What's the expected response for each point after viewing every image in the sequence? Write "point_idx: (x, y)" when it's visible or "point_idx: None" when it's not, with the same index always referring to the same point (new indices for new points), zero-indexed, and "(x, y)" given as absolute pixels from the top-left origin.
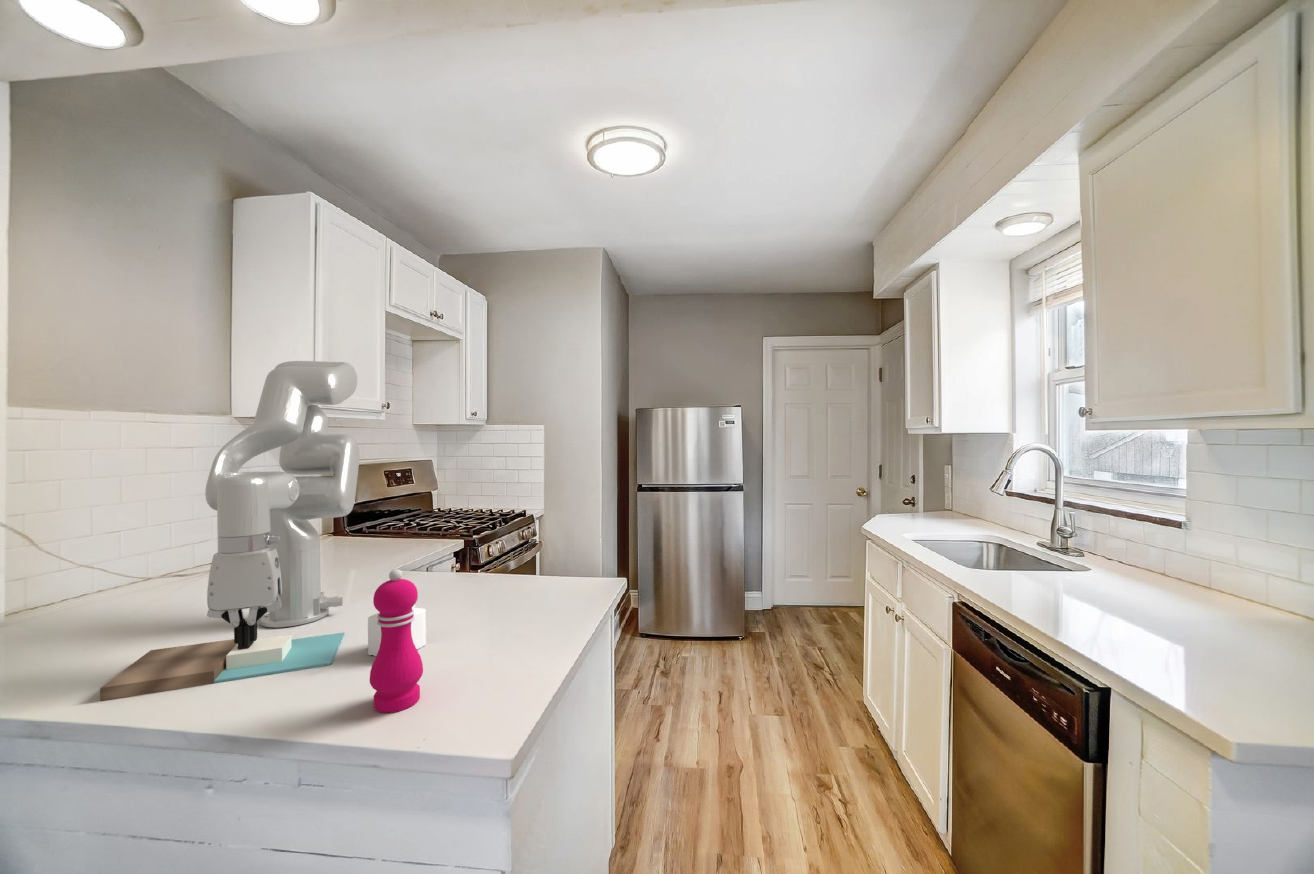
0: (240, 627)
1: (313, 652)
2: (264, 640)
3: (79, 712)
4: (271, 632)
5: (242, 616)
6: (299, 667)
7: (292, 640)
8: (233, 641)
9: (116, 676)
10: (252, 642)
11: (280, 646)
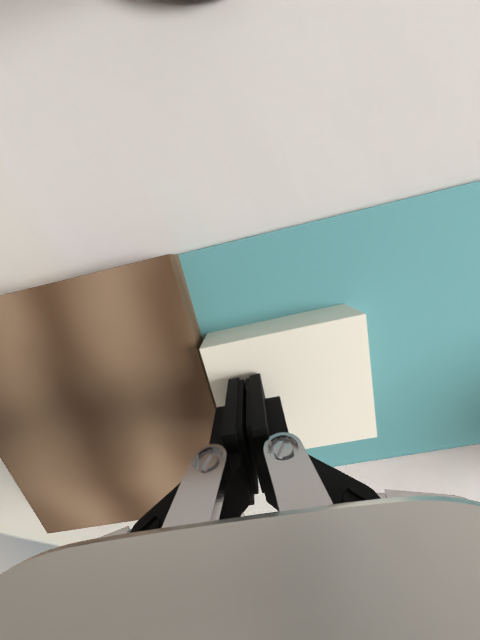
0: (253, 502)
1: (426, 363)
2: (287, 357)
3: (75, 533)
4: (178, 68)
5: (226, 487)
6: (413, 452)
7: (323, 233)
8: (149, 290)
9: (21, 486)
10: (263, 390)
11: (368, 425)
